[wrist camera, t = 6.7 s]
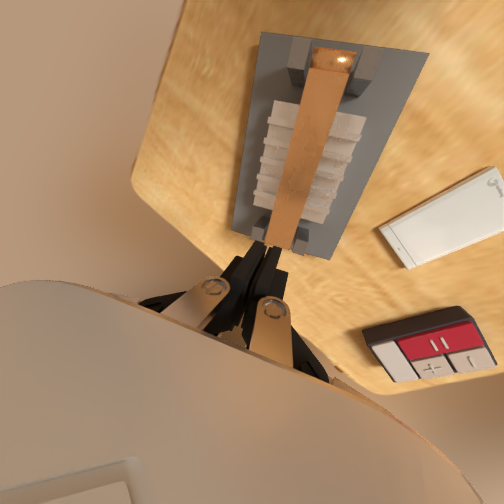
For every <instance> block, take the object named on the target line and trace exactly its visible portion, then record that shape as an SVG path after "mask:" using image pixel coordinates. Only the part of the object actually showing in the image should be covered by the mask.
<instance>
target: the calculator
mask: <svg viewBox="0 0 504 504" xmlns="http://www.w3.org/2000/svg"><path fill="white" fill-rule="evenodd" d="M362 332H363V335H364V337H365V340H366V343H367V345H368V347H369V348H370V350H371V351H372V353H373V354H374V355H375V357H376V358H377V360H378V361H379V362H380V364H381V365H382V367H383V368H384V369H385V371H386V372H387V374H388V375H389V376H390V378H391V379H392V381H393V382H397V383H399V382H405V381H411V380H417V379H420V378H422V379H431V378H437V377H443V376H449V375H454V373H456V372H458V373H460V374H461V373H468V372H474V371H480V370H486V369H492V368H496V365H497V362H496V360H495V358H494V356H493V354H492V352H491V350H490V349H489V347H488V345H487V343H486V341H485V339H484V337H483V335H482V333H481V331H480V329H479V328H478V326H477V324H476V322H475V320H474V318H473V317H472V316H471V315H470V314H468V313H467V312H466V311H465V310H464V309H463V308H462V307H460V306H454V307H450V308H446V309H443V310H439V311H435V312H431V313H427V314H423V315H419V316H415V317H412V318H408V319H405V320H402V321H398V322H395V323H391V324H384V325H380V326H376V327H372V328H368V329H364V330H362Z"/></svg>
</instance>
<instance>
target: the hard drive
mask: <svg viewBox="0 0 504 504" xmlns="http://www.w3.org/2000/svg"><path fill="white" fill-rule="evenodd" d="M378 229H379V230H380V232H381V233H382V235H383V236H384V237H385V239H386V240H387V242H388V243H389V244H390V246H391V247H392V249H393V250H394V252H395V253H396V254H397V256H398V257H399V259H400V260H401V262H402V263H403V264H404V266H405V267H406V269H407V270H410V269H412V268H415V267H417V266H420V265H422V264H425V263H427V262H429V261H432V260H434V259H437V258H439V257H442V256H444V255H447V254H449V253H452V252H454V251H457V250H459V249H462V248H464V247H466V246H469V245H471V244H474V243H476V242H479V241H481V240H483V239H486V238H488V237H491V236H493V235H496V234H498V233H501V232H503V231H504V180H503V178H502V177H501V175H500V173H499V171H498V169H497V168H496V167H492V166H489V167H487V168H485V169H483V170H482V171H480V172H478V173H476V174H474V175H473V176H471V177H469V178H467V179H465V180H463V181H462V182H460V183H458V184H456V185H454V186H453V187H451V188H449V189H447V190H445V191H444V192H442V193H440V194H438V195H436V196H434V197H433V198H431V199H429V200H427V201H425V202H424V203H422V204H420V205H418V206H416V207H415V208H413V209H411V210H409V211H407V212H406V213H404V214H402V215H400V216H398V217H397V218H395V219H393V220H391V221H389V222H388V223H386V224H384V225H382V226H380V227H379V228H378Z"/></svg>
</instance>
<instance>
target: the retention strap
mask: <svg viewBox="0 0 504 504" xmlns="http://www.w3.org/2000/svg"><path fill="white" fill-rule="evenodd" d="M356 54H357V52H352V51H344V50H337V49H330V48H322V47H315V48H314V50H313V54H312V58H311V62H310V68H309V72H308V75H307V79H306V83H305V87H304V91H303V95H302V99H301V103H300V106H299V110H298V114H297V118H296V122H295V126H294V130H293V134H292V137H291V141H290V145H289V149H288V153H287V157H286V161H285V165H284V169H283V172H282V176H281V180H280V184H279V188H278V192H277V196H276V200H275V203H274V207H273V211H272V215H271V219H270V223H269V227H268V231H267V235H266V238H265V242H266V243H269V244H272V245H275V246H279V247H282V248H285V249H288V250H290V247H291V244H292V241H293V238H294V235H295V232H296V229H297V226H298V223H299V220H300V217H301V214H302V211H303V209H304V206H305V203H306V200H307V197H308V194H309V191H310V188H311V185H312V182H313V179H314V176H315V173H316V171H317V168H318V165H319V162H320V159H321V156H322V153H323V150H324V147H325V144H326V141H327V138H328V135H329V132H330V130H331V127H332V124H333V121H334V118H335V115H336V112H337V109H338V106H339V103H340V100H341V97H342V94H343V92H344V89H345V86H346V83H347V80H348V77H349V74H350V71H351V69H352V66H353V63H354V60H355V57H356Z"/></svg>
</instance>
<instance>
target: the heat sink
mask: <svg viewBox="0 0 504 504" xmlns="http://www.w3.org/2000/svg"><path fill="white" fill-rule="evenodd" d="M384 50H385V48H380V47H372V46H364V48H363V50H362V52H361V54H360V57H359V59H358V61H357V63H356V65H355V67H354V69H353V72H352V75H351V77H350V80H349V83H348V86H347V89H346V92H345V95H348V96H354V97H360V96H361V94H362V93H363V92H364V91H365V89H366V88H367V87H368V85H369V84H370V83H371V82H372V80H373V78H374V75H375V73H376V70H377V68H378V65H379V62H380V60H381V57H382V55H383V52H384ZM311 58H312V39H310V38H302V37H294V36H293V41H292V45H291V50H290V55H289V59H288V64H287V70H288V73H289V77H290V80H291V84H292V86H295V87H301V88H304V87H305V83H306V79H307V75H308V72H309V68H310V62H311ZM299 106H300V105H298V104H292V103H287V102H282V101H276V100H274V104H273V109H272V114H271V117H268V121H267V123H268V124H269V129H268V134H267V138H265V137H264V142H263V143H264V144H265V149H264V154H263V156H261V157H260V162H262V164H261V169H260V173H258V174H257V178H256V179H258V183H257V188H256V189H255V190H254V193H253V194H254V195H255V198H254V203H253V205H256V206H259V207H263V208H266V209H270V210H273V207H274V203H275V200H276V196H277V192H278V188H279V184H280V180H281V176H282V172H283V169H284V165H285V161H286V157H287V153H288V149H289V145H290V141H291V137H292V134H293V130H294V126H295V122H296V118H297V114H298V110H299ZM366 118H367V117H363V116H357V115H352V114H347V113H341V112H336V115H335V118H334V121H333V124H332V127H331V130H330V132H329V135H328V138H327V141H326V144H325V147H324V150H323V153H322V156H321V159H320V162H319V165H318V168H317V171H316V173H315V176H314V179H313V182H312V185H311V188H310V191H309V194H308V197H307V200H306V203H305V206H304V209H303V211H302V214H301V217H300V218H302V219H306V220H309V221H313V222H317V223H320V224H323V223H324V220H325V218H326V215H327V214H328V215H329V212H330V206H331V203H332V201H333V198H334V199H335V198H336V195H337V193H336V191H337V189H338V186H339V184H340V181H343V179H344V176H343V174H344V172H345V169H346V167H347V164H348V162H349V163H350V162H351V160H352V156H351V155H352V152H353V150H354V148H355V145H356V143H357V142H359V140H360V138H361V136H362V135H360V133H361V131H362V128H363V126H364V123H365V121H366ZM270 219H271V218H268V217H264V216H261V217H260V219H259V220H258V221H257V222H256V223H255V224H254V226H253V229H252V233H251V238H250V239H251V240H257V241H260V242H262V240H263V239H264V237H265V235H266V234H267V231H268V227H269V223H270ZM308 243H309V229H306V228H303V227H299V228H298V231H297V233H296V236H295V240H294V245H293V249H292V252H293V253H297V254H300V255H303V256H304V253H305V251H306V248H307V246H308Z"/></svg>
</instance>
